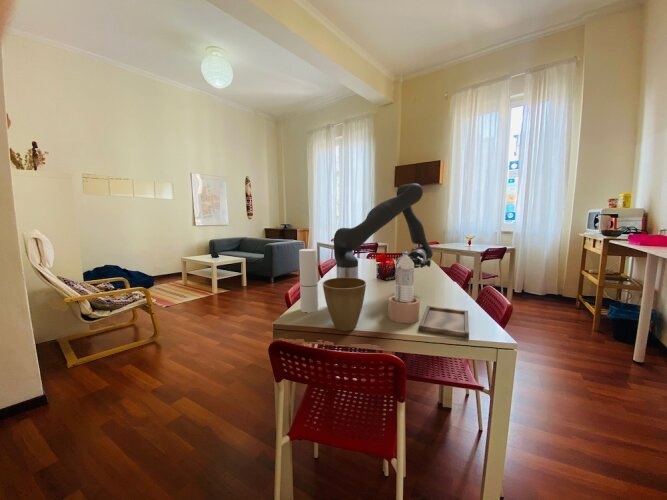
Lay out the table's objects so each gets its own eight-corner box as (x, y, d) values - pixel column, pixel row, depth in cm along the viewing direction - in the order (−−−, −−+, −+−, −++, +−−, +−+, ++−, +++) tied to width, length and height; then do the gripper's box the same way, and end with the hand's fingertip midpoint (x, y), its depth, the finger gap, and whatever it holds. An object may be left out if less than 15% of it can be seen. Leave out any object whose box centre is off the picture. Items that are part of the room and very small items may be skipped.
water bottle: (409, 322, 99) (411, 253, 95) (391, 318, 102) (392, 252, 99) (415, 316, 104) (416, 251, 101) (397, 313, 108) (398, 250, 105)
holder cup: (385, 320, 101) (385, 301, 100) (392, 310, 111) (392, 294, 110) (416, 325, 96) (416, 305, 95) (420, 314, 106) (421, 297, 105)
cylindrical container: (319, 307, 116) (318, 248, 113) (316, 313, 109) (315, 251, 106) (302, 306, 117) (301, 248, 114) (299, 312, 110) (297, 251, 106)
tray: (418, 330, 91) (418, 325, 91) (426, 309, 111) (426, 305, 111) (468, 338, 85) (469, 333, 85) (467, 315, 105) (468, 310, 104)
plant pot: (332, 316, 105) (332, 276, 103) (370, 321, 99) (370, 278, 97) (316, 332, 91) (315, 285, 89) (359, 339, 86) (359, 289, 84)
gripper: (401, 249, 129) (393, 254, 114) (433, 250, 123) (429, 256, 108) (401, 265, 130) (393, 272, 115) (432, 267, 124) (428, 274, 109)
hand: (410, 264), depth 112 cm, fingers open, 8 cm apart
